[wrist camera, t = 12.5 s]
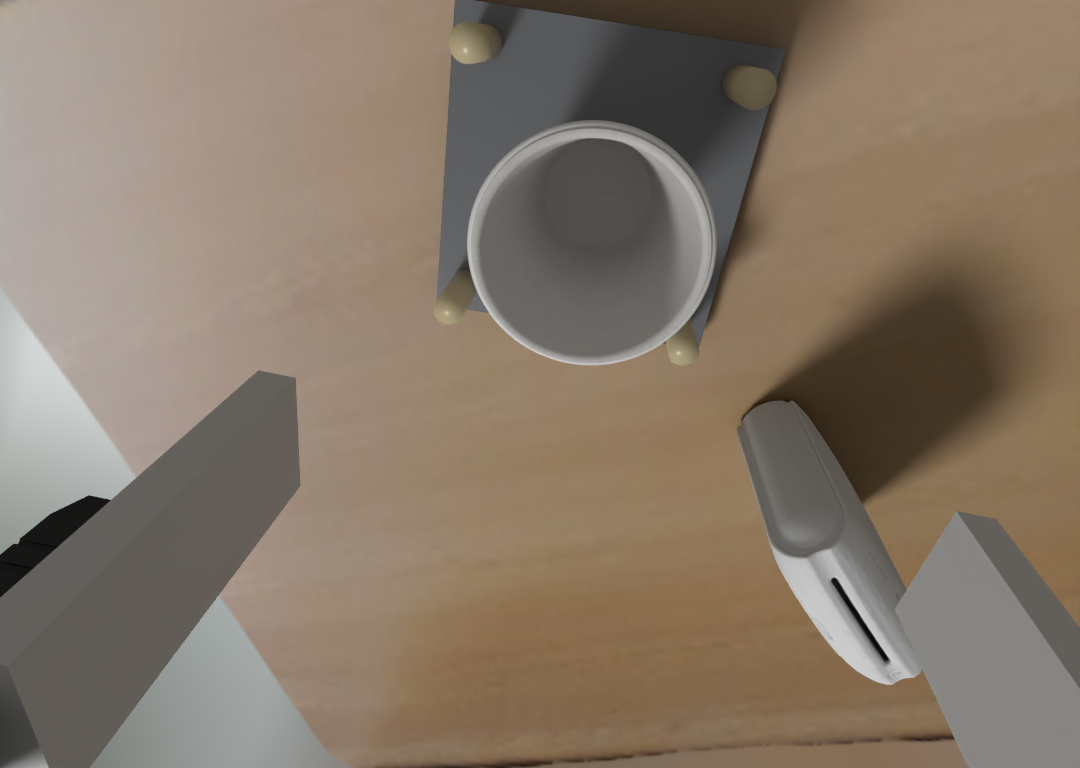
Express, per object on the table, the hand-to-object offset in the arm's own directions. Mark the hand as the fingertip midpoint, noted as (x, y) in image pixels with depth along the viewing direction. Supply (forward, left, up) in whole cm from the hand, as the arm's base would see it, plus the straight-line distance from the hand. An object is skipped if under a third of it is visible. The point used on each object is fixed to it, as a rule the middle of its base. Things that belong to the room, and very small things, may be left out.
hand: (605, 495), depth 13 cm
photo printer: (-13, +12, -22) cm, 29 cm away
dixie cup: (+1, -2, -21) cm, 21 cm away
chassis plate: (+2, -2, -22) cm, 22 cm away
